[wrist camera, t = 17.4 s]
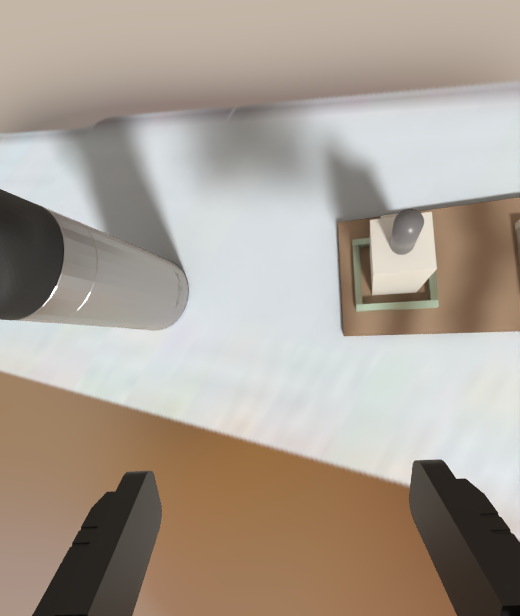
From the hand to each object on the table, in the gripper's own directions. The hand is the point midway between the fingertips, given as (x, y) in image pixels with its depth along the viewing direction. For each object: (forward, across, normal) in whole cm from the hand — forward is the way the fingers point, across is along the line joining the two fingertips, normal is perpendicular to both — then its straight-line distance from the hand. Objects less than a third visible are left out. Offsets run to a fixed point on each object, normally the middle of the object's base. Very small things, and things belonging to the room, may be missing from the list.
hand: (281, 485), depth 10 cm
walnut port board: (+22, -19, -1) cm, 29 cm away
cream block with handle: (+24, -12, 0) cm, 26 cm away
